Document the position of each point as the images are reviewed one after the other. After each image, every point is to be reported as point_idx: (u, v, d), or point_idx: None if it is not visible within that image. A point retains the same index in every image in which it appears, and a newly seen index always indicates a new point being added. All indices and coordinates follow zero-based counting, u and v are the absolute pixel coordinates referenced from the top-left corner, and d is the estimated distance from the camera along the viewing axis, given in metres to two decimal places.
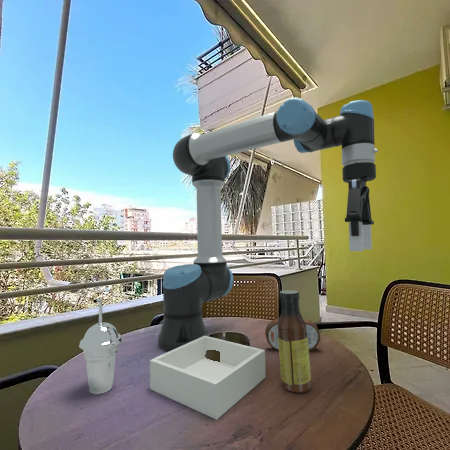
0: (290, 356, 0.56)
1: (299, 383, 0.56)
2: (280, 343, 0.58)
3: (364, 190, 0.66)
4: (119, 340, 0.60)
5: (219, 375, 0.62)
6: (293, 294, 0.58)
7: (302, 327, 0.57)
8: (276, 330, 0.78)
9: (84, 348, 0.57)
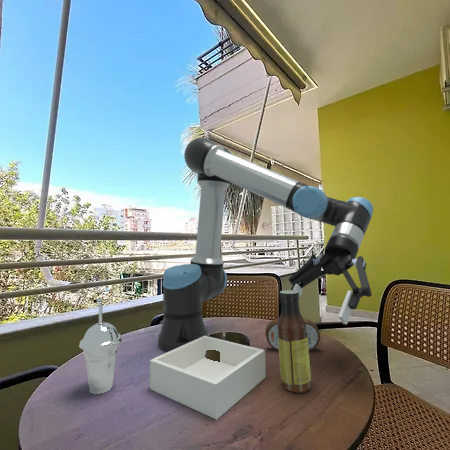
0: (290, 356, 0.56)
1: (299, 383, 0.56)
2: (280, 343, 0.58)
3: None
4: (119, 340, 0.60)
5: (219, 375, 0.62)
6: (293, 294, 0.58)
7: (302, 327, 0.57)
8: (276, 330, 0.78)
9: (84, 348, 0.57)
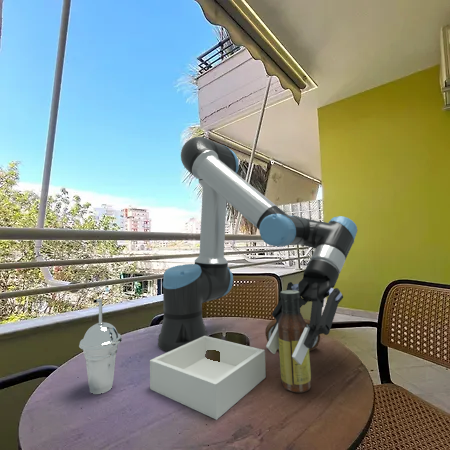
0: (291, 356, 0.56)
1: (299, 383, 0.56)
2: (280, 343, 0.58)
3: (323, 298, 0.63)
4: (119, 340, 0.60)
5: (219, 375, 0.62)
6: (294, 294, 0.58)
7: (302, 327, 0.57)
8: None
9: (84, 348, 0.57)
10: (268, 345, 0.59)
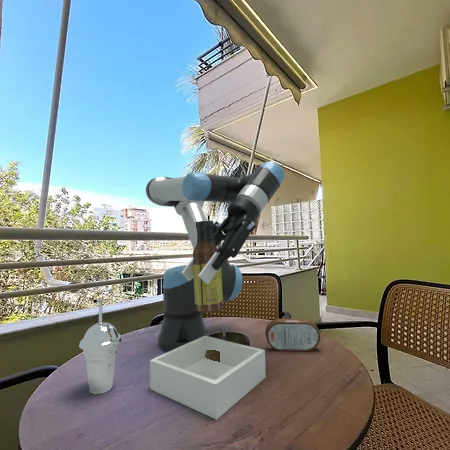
0: (200, 278, 0.60)
1: (208, 303, 0.59)
2: (193, 268, 0.61)
3: None
4: (119, 340, 0.60)
5: (219, 375, 0.62)
6: (206, 221, 0.61)
7: (213, 252, 0.60)
8: (276, 330, 0.78)
9: (84, 348, 0.57)
10: (183, 271, 0.62)
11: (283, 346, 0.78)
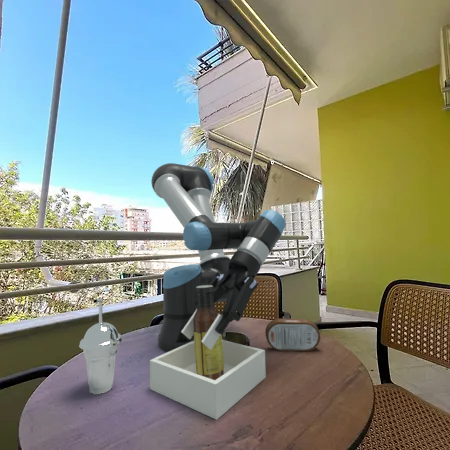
0: (201, 347, 0.59)
1: (209, 373, 0.58)
2: (194, 335, 0.61)
3: None
4: (119, 340, 0.60)
5: None
6: (205, 288, 0.61)
7: (213, 319, 0.60)
8: (276, 330, 0.78)
9: (84, 348, 0.57)
10: (183, 330, 0.62)
11: (283, 346, 0.78)
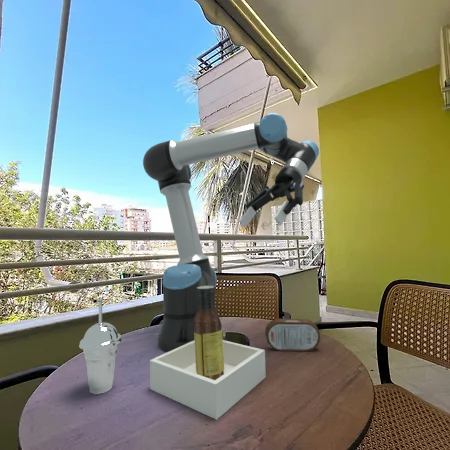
0: (201, 348, 0.59)
1: (209, 374, 0.58)
2: (194, 336, 0.61)
3: (290, 192, 0.83)
4: (119, 340, 0.60)
5: None
6: (207, 289, 0.61)
7: (214, 321, 0.60)
8: (276, 330, 0.78)
9: (84, 348, 0.57)
10: (240, 220, 0.82)
11: (283, 346, 0.78)
